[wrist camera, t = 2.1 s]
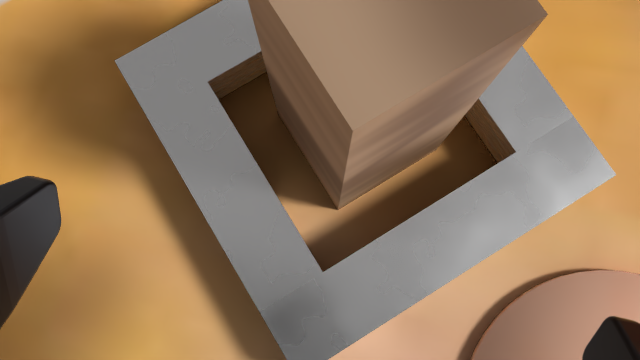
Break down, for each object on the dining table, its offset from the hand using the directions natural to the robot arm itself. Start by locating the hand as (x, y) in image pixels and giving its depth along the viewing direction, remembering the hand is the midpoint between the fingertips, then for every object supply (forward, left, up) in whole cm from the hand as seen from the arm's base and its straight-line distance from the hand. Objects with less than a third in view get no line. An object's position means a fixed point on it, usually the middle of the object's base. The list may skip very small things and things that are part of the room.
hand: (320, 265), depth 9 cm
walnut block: (+4, +4, -12) cm, 13 cm away
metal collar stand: (+4, +4, -12) cm, 13 cm away
